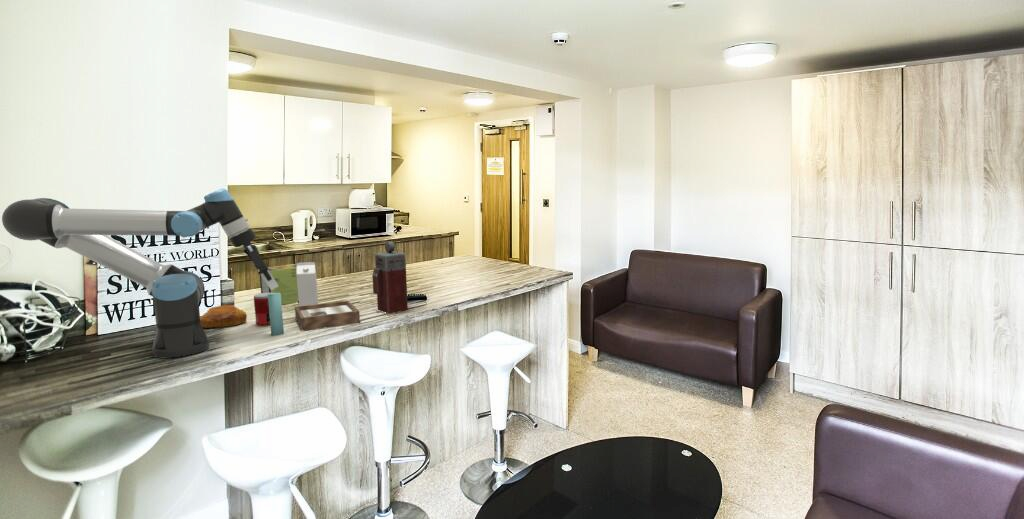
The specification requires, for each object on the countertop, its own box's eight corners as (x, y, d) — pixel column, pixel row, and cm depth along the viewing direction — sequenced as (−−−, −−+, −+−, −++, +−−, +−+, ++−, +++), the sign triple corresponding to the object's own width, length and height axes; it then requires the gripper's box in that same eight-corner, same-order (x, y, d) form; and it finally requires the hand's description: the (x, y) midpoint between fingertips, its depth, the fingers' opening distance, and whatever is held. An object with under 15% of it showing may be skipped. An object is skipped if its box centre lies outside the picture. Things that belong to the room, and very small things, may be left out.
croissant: (243, 332, 193) (244, 311, 192) (194, 330, 188) (196, 309, 187) (249, 321, 206) (251, 301, 205) (204, 319, 201) (206, 299, 200)
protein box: (306, 300, 234) (304, 266, 231) (271, 306, 222) (268, 270, 220) (295, 297, 240) (293, 263, 238) (261, 303, 229) (258, 268, 227)
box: (302, 330, 186) (301, 318, 185) (295, 318, 203) (294, 306, 202) (359, 322, 195) (359, 311, 194) (348, 311, 212) (348, 300, 212)
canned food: (270, 326, 191) (268, 297, 190) (251, 326, 193) (248, 296, 191) (283, 321, 199) (281, 292, 197) (264, 320, 200) (262, 292, 199)
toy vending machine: (372, 310, 213) (368, 242, 209) (396, 306, 220) (393, 239, 216) (383, 314, 206) (379, 243, 202) (408, 309, 214) (405, 241, 210)
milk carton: (300, 306, 223) (297, 261, 220) (318, 304, 225) (315, 260, 222) (299, 310, 216) (295, 264, 213) (317, 308, 218) (314, 263, 215)
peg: (271, 335, 180) (268, 295, 178) (270, 332, 184) (267, 293, 182) (284, 334, 182) (281, 294, 180) (283, 331, 185) (280, 292, 183)
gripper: (253, 228, 170) (287, 284, 177) (248, 226, 192) (278, 276, 198) (230, 239, 167) (265, 296, 174) (227, 236, 189) (259, 286, 195)
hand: (272, 285), depth 186 cm, fingers open, 13 cm apart
